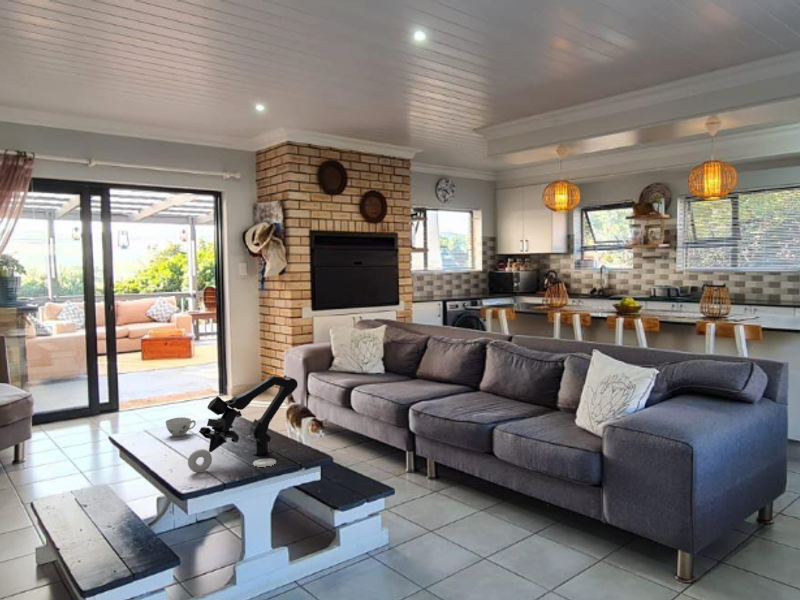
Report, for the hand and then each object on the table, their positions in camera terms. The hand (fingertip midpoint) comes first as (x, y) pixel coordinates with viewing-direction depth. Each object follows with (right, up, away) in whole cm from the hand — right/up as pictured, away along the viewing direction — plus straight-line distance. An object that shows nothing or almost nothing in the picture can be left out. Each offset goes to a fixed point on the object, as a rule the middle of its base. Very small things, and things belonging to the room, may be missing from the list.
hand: (209, 451), depth 252 cm
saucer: (+23, -7, +5) cm, 24 cm away
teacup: (-33, -5, +54) cm, 63 cm away
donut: (-2, -8, -5) cm, 9 cm away
